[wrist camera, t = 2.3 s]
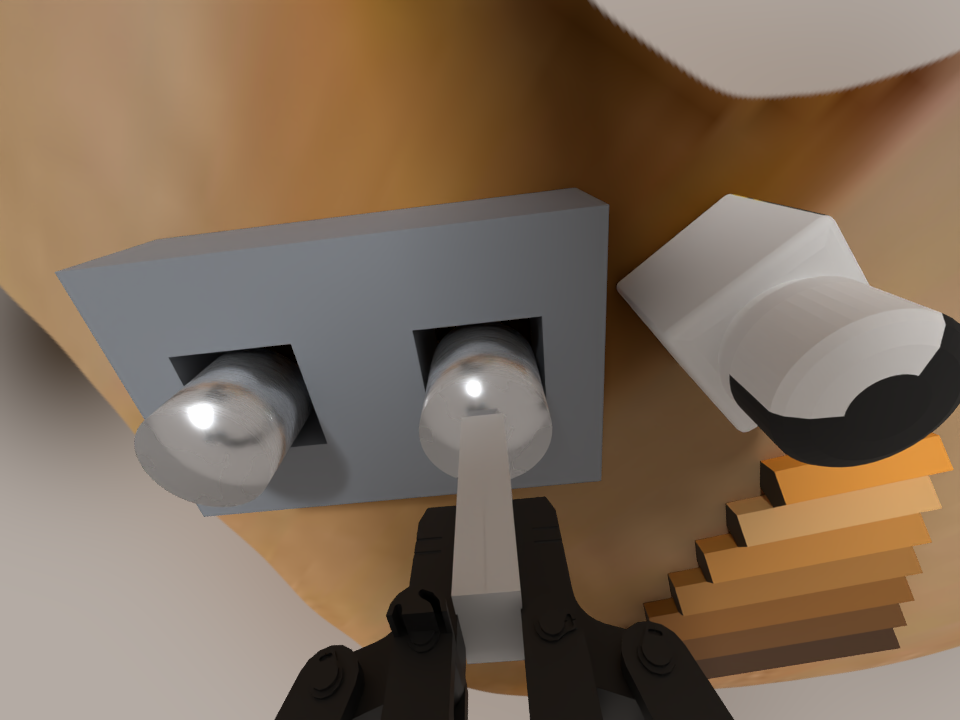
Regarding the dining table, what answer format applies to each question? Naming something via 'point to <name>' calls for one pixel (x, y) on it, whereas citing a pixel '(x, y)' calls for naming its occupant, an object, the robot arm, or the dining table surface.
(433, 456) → the steel peg
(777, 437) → the medicine bottle
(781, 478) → the pan flute
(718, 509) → the dining table surface
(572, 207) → the peg block
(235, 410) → the steel peg
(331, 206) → the dining table surface
